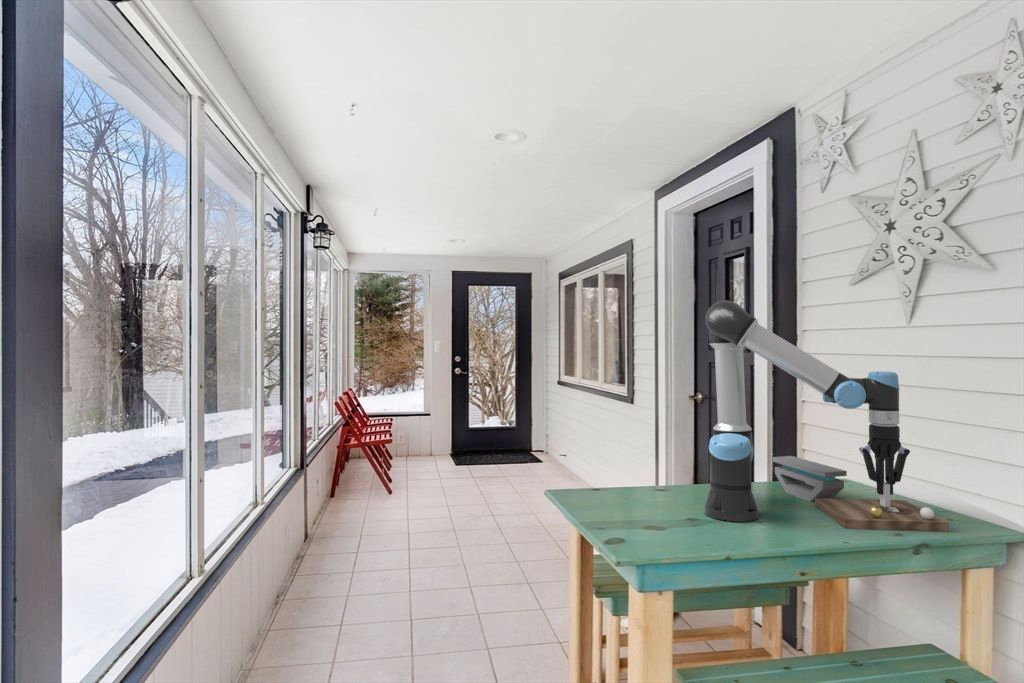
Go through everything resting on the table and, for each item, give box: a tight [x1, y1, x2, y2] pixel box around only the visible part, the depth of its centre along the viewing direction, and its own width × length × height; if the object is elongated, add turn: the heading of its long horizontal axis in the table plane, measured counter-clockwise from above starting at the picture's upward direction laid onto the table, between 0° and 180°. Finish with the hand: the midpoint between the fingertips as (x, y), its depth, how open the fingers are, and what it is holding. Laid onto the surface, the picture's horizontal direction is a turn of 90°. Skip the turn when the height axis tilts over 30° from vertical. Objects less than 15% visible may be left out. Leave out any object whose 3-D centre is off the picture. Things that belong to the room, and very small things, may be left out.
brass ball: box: [869, 506, 883, 518], centre depth 159 cm, size 3×3×3 cm
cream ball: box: [920, 506, 935, 519], centre depth 158 cm, size 3×3×3 cm
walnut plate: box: [814, 497, 950, 533], centre depth 167 cm, size 26×22×2 cm
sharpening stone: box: [772, 455, 848, 502], centre depth 192 cm, size 25×8×11 cm, turn 12°
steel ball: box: [887, 507, 899, 512], centre depth 167 cm, size 3×3×3 cm
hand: (885, 505), depth 167 cm, fingers closed
